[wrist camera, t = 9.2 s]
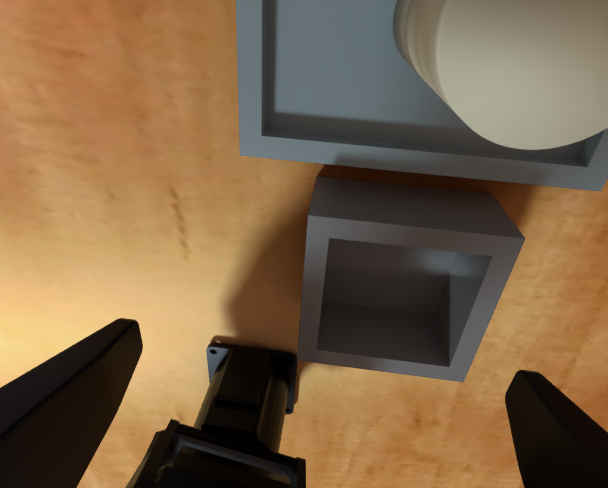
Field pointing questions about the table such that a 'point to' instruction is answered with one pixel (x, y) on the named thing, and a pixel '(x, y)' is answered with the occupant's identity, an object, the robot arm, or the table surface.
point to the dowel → (513, 65)
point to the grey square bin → (402, 276)
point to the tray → (370, 102)
